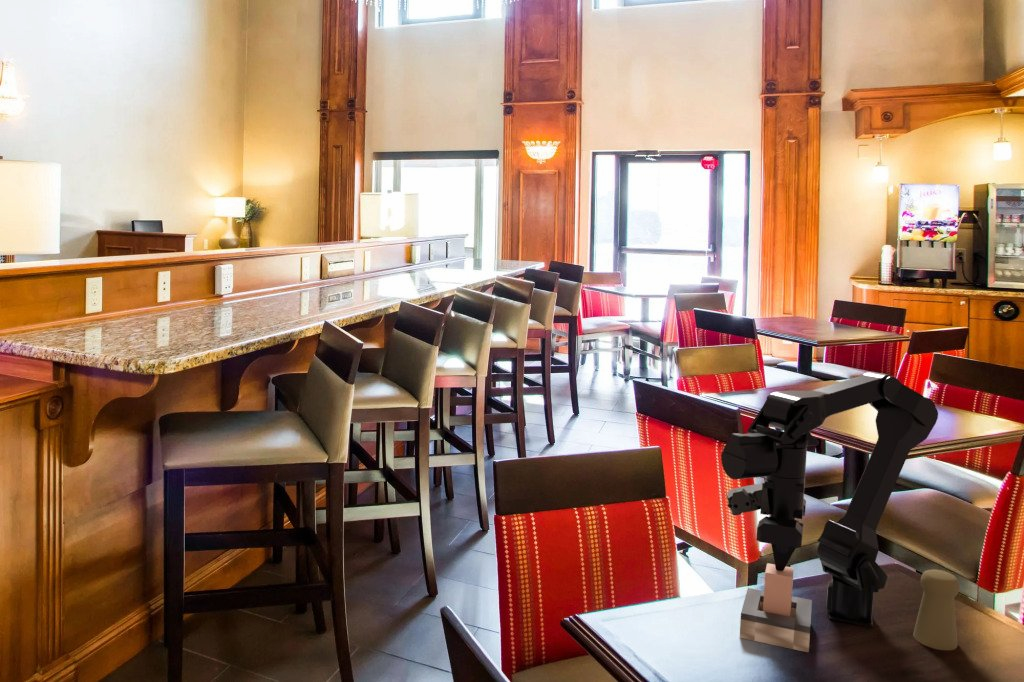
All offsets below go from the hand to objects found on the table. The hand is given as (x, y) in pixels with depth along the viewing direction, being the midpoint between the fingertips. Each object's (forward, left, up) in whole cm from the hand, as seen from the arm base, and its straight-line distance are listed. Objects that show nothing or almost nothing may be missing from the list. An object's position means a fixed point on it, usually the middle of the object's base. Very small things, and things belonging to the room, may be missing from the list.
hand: (779, 569), depth 114 cm
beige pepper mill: (-23, -8, -10) cm, 26 cm away
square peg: (0, 0, -10) cm, 10 cm away
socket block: (0, 0, -10) cm, 10 cm away
